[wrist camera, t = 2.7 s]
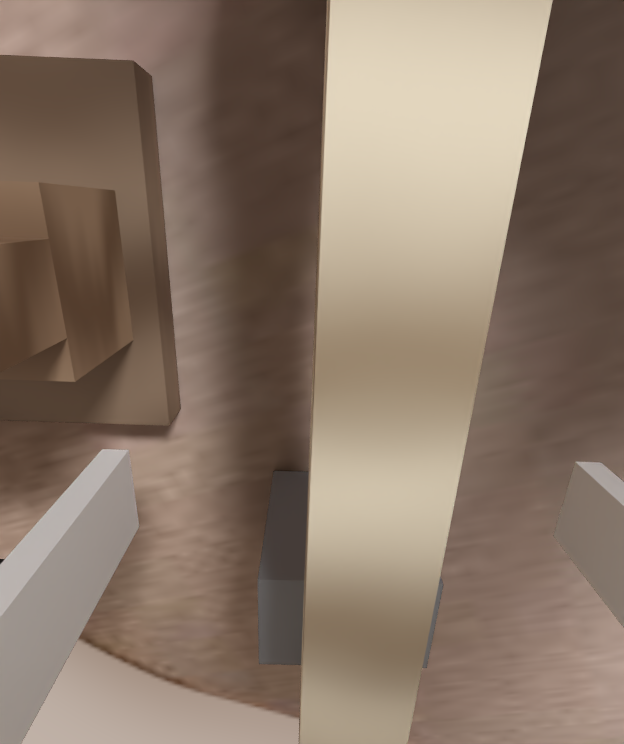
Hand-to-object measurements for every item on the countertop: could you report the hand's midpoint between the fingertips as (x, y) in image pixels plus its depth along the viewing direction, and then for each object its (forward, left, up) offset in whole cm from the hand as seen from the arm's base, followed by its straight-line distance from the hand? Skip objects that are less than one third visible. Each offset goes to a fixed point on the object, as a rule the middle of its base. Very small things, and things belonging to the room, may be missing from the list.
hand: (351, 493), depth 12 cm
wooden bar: (-6, 0, 0) cm, 6 cm away
